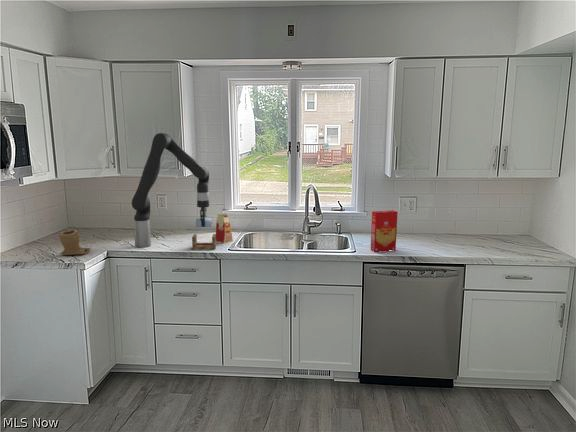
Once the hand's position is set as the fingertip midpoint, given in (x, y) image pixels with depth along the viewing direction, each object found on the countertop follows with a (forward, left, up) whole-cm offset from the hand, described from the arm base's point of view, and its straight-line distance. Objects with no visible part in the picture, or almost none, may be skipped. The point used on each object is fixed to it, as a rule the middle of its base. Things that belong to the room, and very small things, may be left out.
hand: (203, 225), depth 279 cm
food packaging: (+113, -13, -15) cm, 115 cm away
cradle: (0, 0, -15) cm, 15 cm away
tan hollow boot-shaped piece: (-76, -12, -15) cm, 78 cm away
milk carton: (+11, +16, -15) cm, 24 cm away
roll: (0, 0, +2) cm, 2 cm away
